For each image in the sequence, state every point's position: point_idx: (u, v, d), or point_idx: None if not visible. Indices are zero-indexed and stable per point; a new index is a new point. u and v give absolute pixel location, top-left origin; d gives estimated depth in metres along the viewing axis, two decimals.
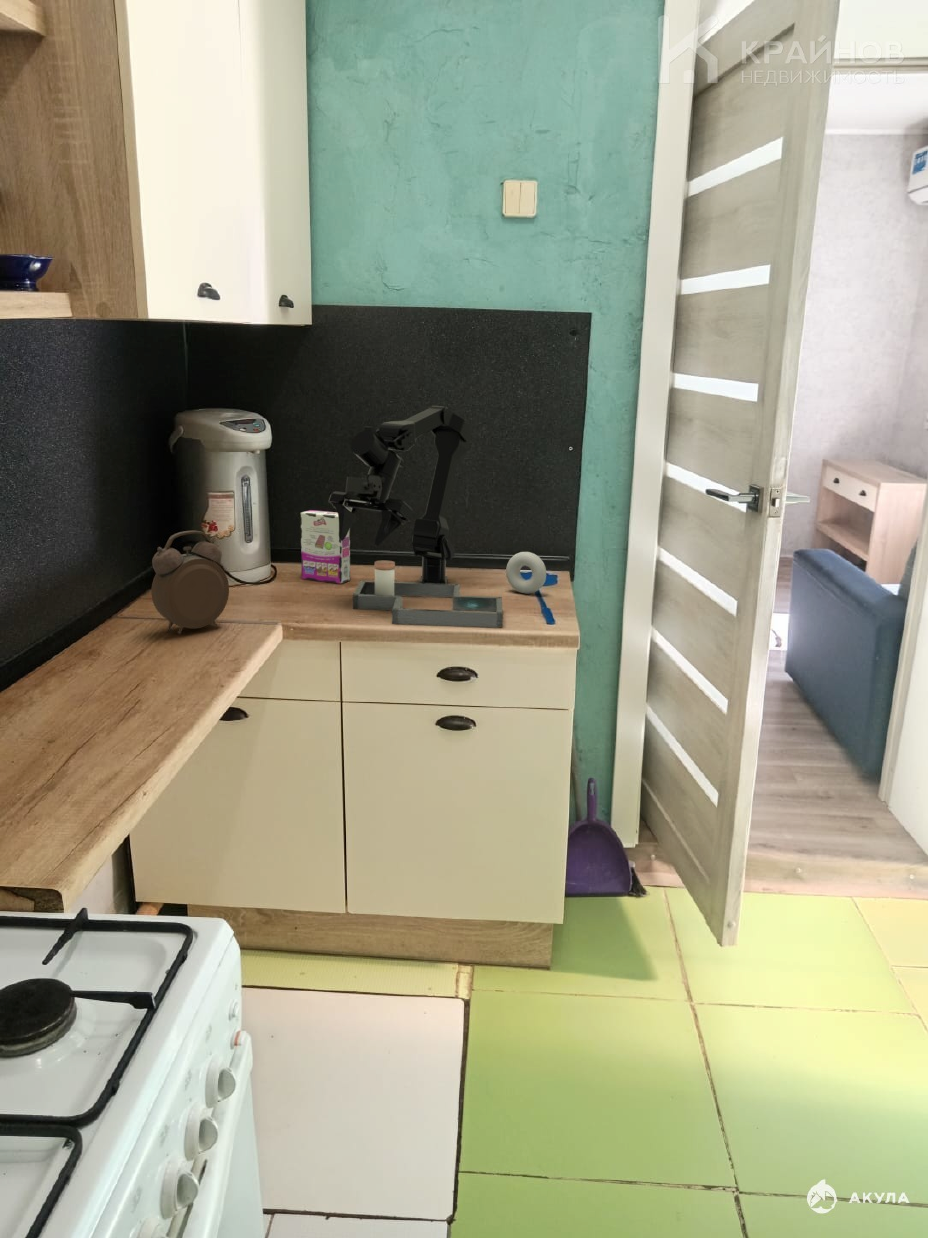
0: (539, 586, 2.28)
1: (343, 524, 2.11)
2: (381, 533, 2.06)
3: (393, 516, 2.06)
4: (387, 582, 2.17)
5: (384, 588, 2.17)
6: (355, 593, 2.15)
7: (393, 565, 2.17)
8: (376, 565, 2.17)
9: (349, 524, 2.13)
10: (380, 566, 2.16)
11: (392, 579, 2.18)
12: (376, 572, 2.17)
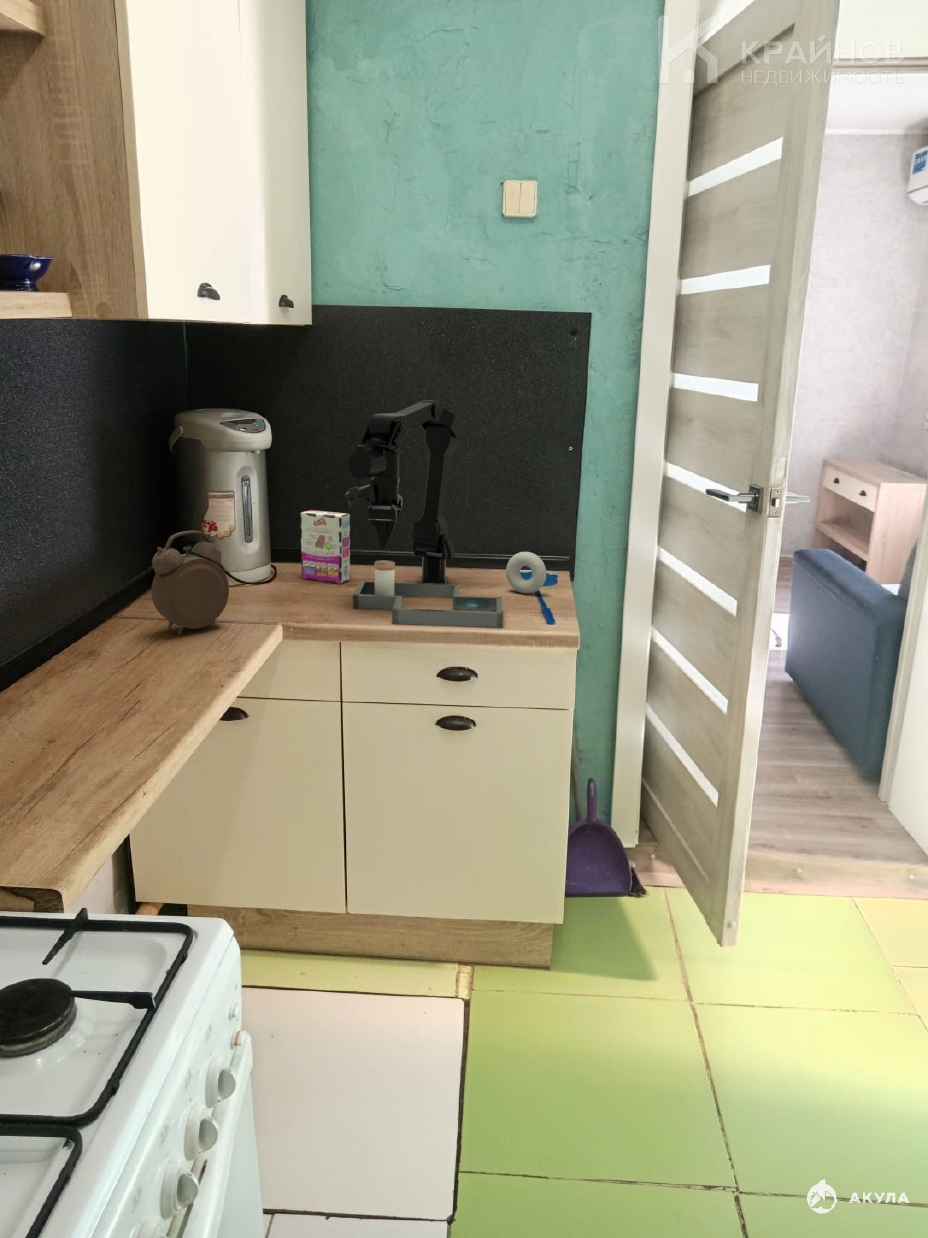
0: (539, 586, 2.28)
1: None
2: (378, 538, 2.11)
3: None
4: (387, 582, 2.17)
5: (384, 588, 2.17)
6: (355, 593, 2.15)
7: (393, 565, 2.17)
8: (376, 565, 2.17)
9: None
10: (380, 566, 2.16)
11: (392, 579, 2.18)
12: (376, 572, 2.17)
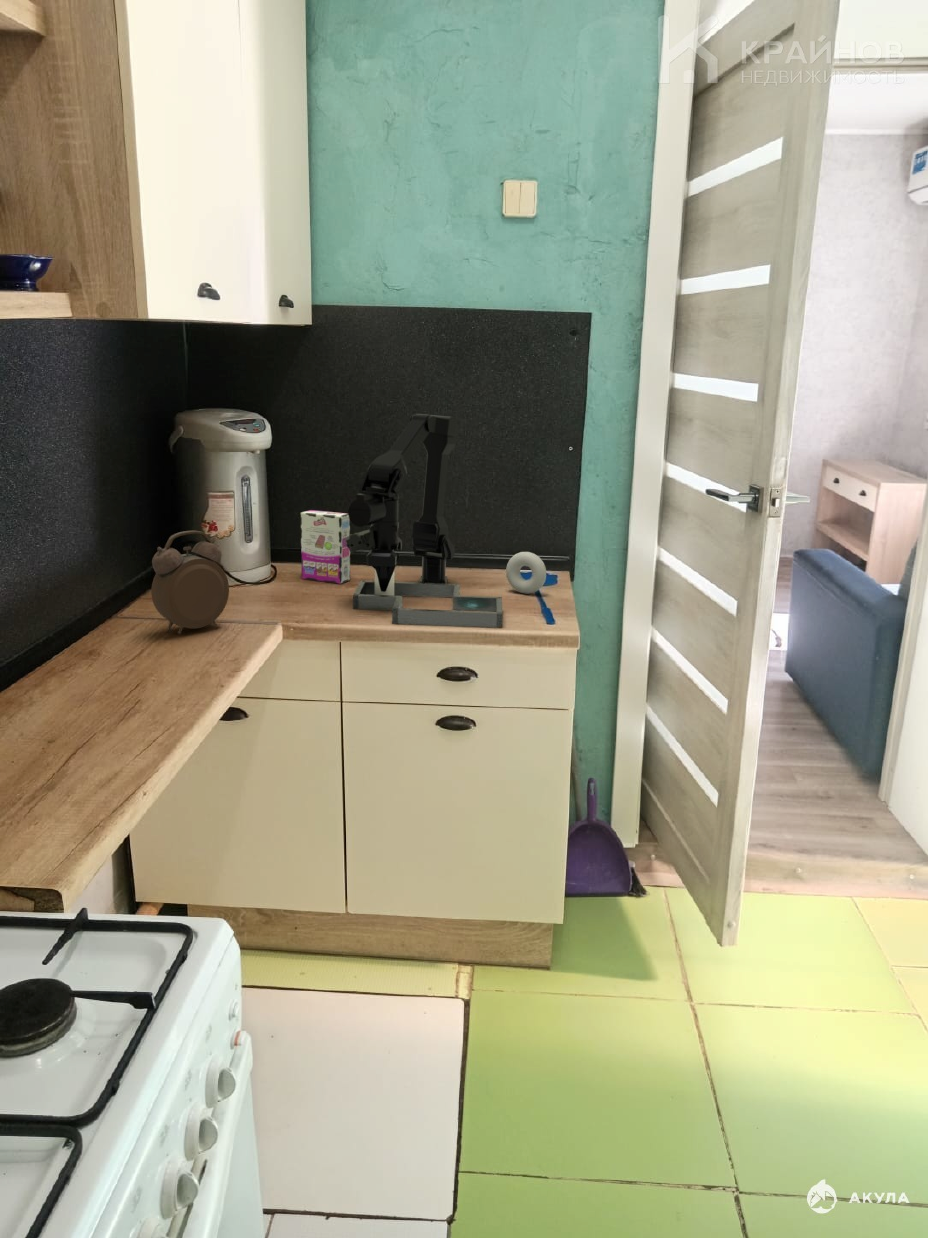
0: (539, 586, 2.28)
1: None
2: (379, 581, 2.16)
3: None
4: None
5: None
6: (355, 593, 2.15)
7: None
8: None
9: None
10: None
11: (392, 579, 2.18)
12: (376, 572, 2.17)
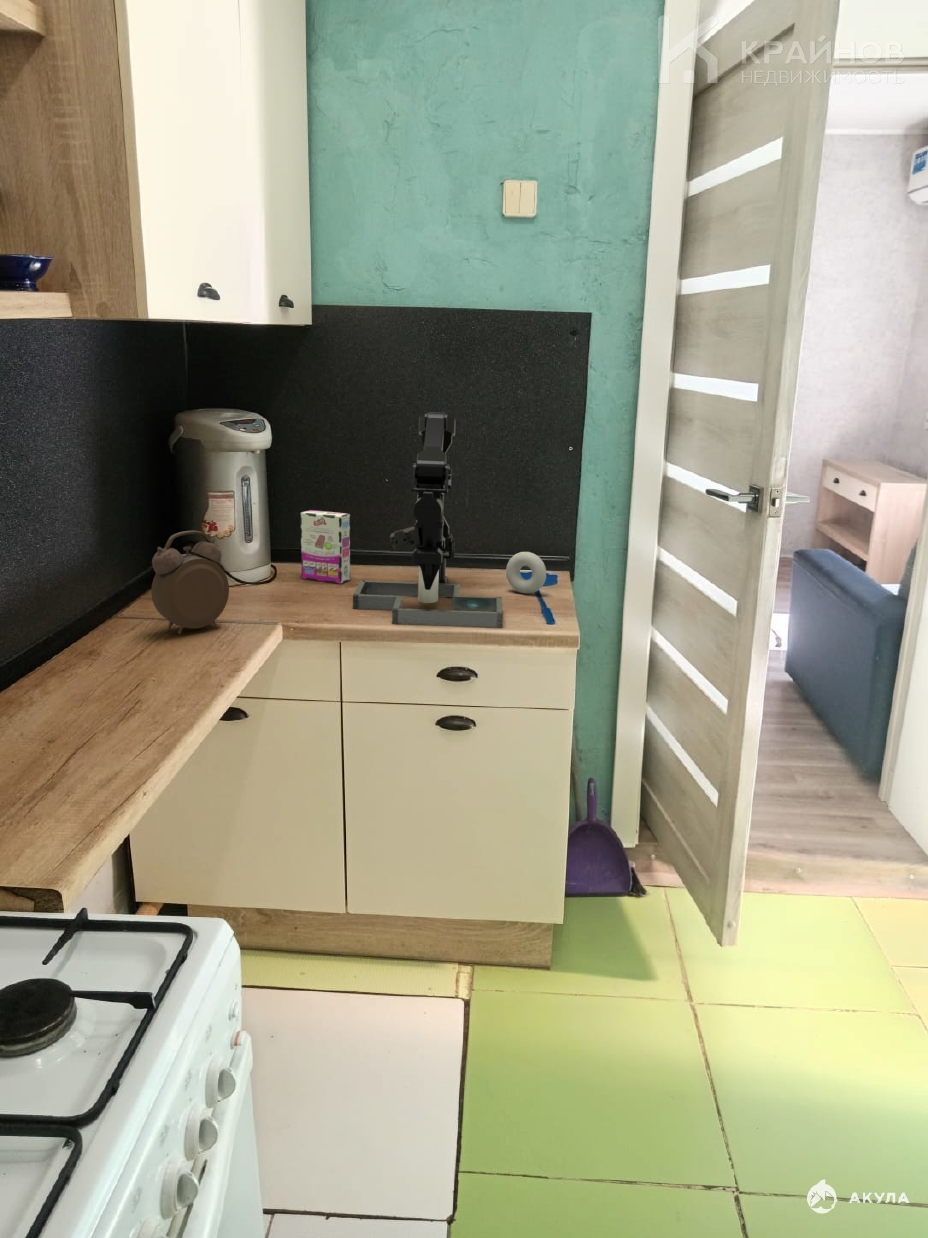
0: (539, 586, 2.28)
1: None
2: (424, 579, 2.12)
3: None
4: None
5: None
6: (355, 593, 2.15)
7: None
8: None
9: None
10: None
11: (436, 577, 2.14)
12: (420, 570, 2.13)
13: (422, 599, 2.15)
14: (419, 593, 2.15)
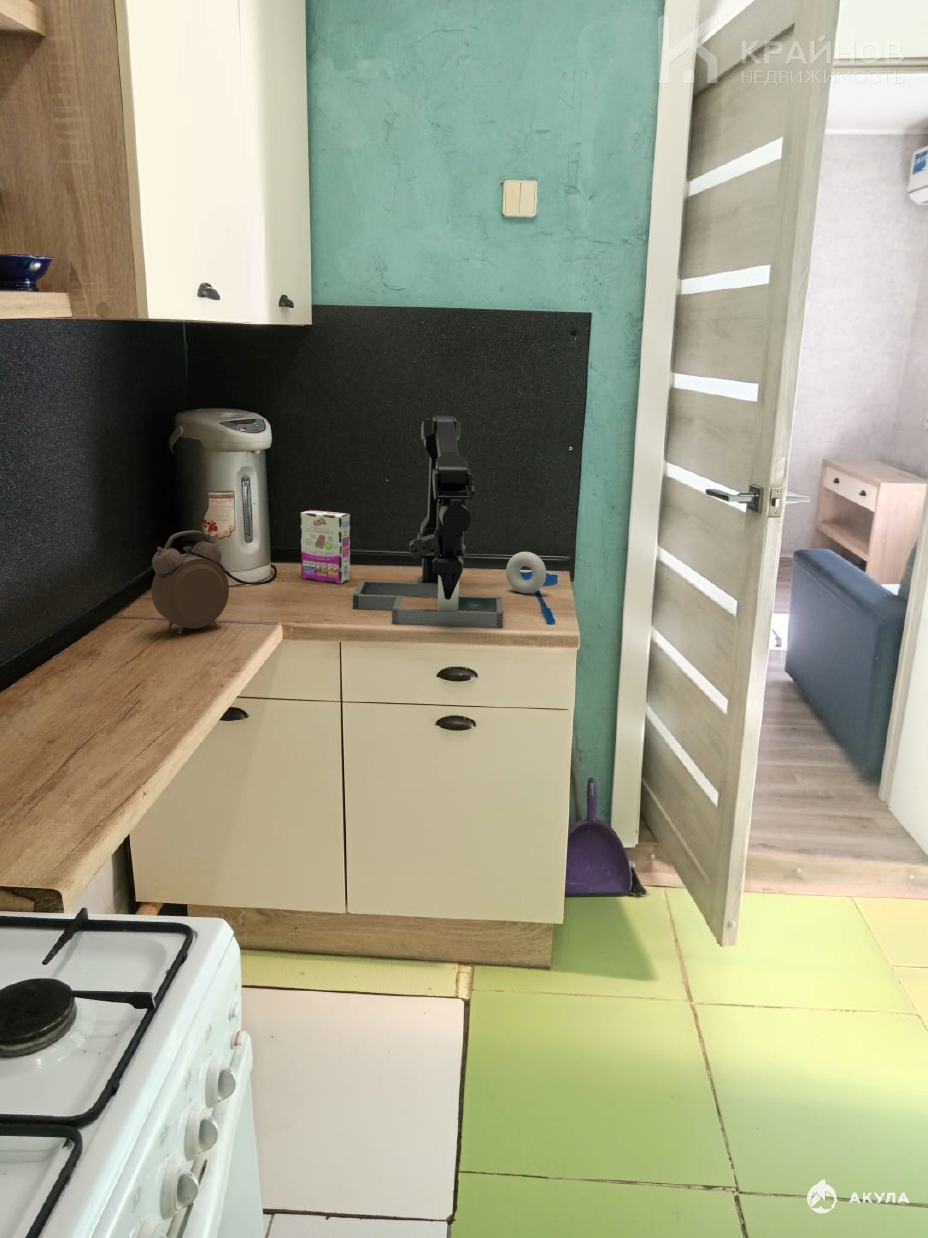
0: (539, 586, 2.28)
1: None
2: (444, 588, 2.06)
3: None
4: None
5: None
6: (355, 593, 2.15)
7: None
8: None
9: None
10: None
11: (457, 586, 2.08)
12: (440, 579, 2.07)
13: (441, 609, 2.08)
14: (439, 603, 2.09)
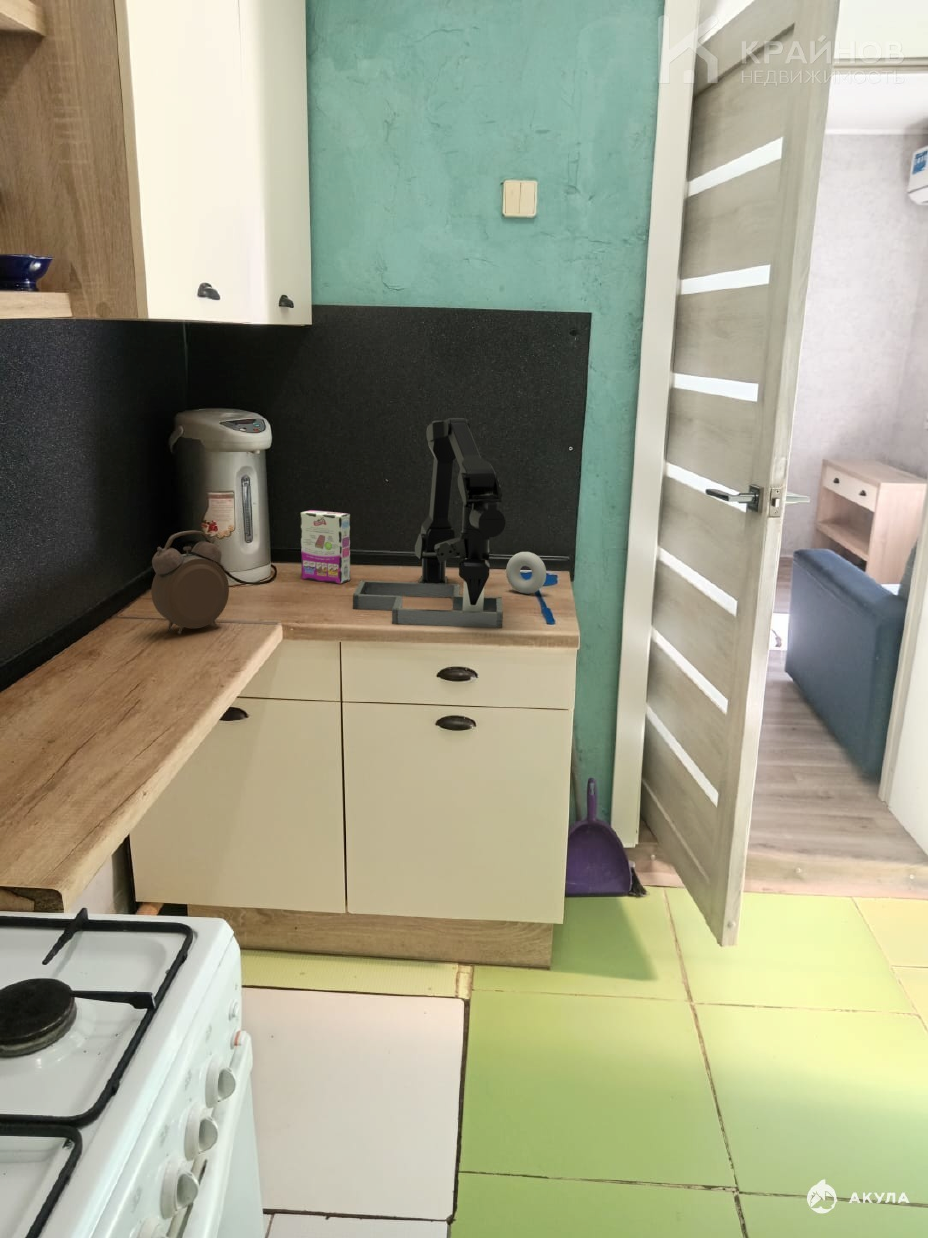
0: (539, 586, 2.28)
1: None
2: (469, 594, 2.04)
3: None
4: None
5: None
6: (355, 593, 2.15)
7: None
8: None
9: None
10: None
11: (482, 593, 2.08)
12: (465, 585, 2.07)
13: None
14: (464, 609, 2.09)
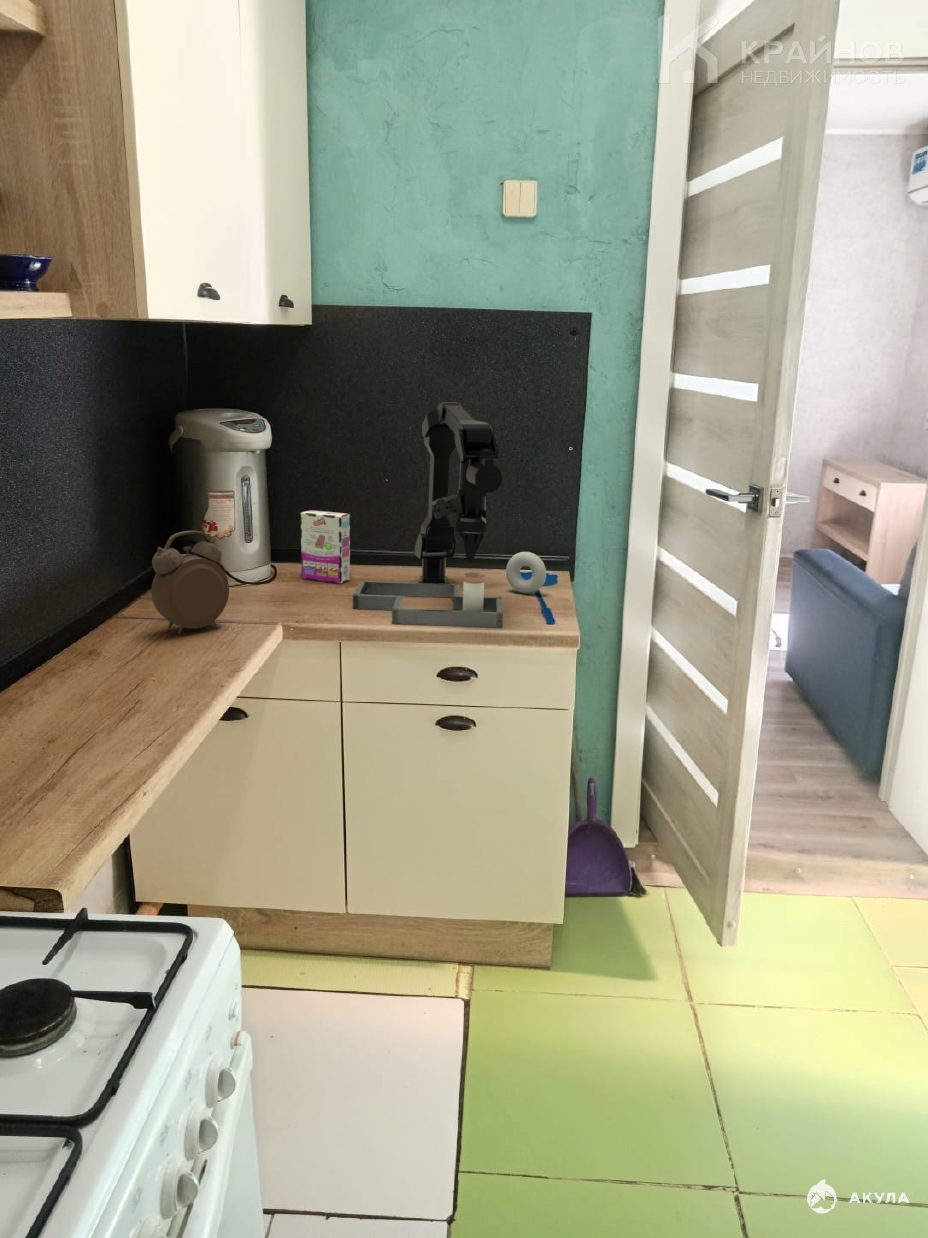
0: (539, 586, 2.28)
1: None
2: (466, 550, 2.04)
3: None
4: (477, 595, 2.07)
5: (474, 602, 2.07)
6: (355, 593, 2.15)
7: (483, 578, 2.07)
8: (466, 578, 2.07)
9: None
10: (470, 579, 2.06)
11: (482, 592, 2.08)
12: (465, 585, 2.07)
13: None
14: (464, 609, 2.09)
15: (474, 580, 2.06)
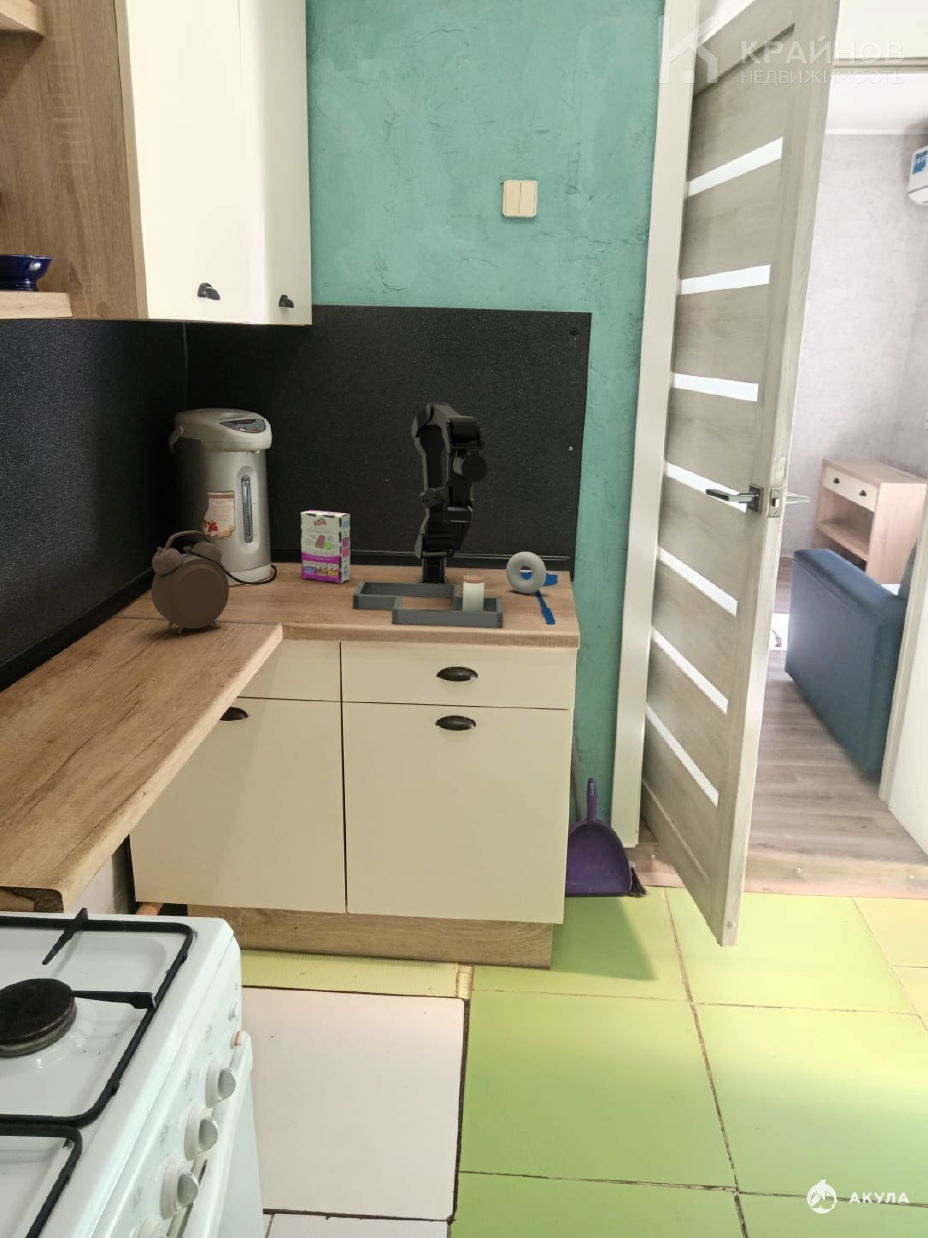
0: (539, 586, 2.28)
1: None
2: (453, 539, 2.12)
3: None
4: (477, 595, 2.07)
5: (474, 602, 2.07)
6: (355, 593, 2.15)
7: (483, 578, 2.07)
8: (466, 578, 2.07)
9: None
10: (470, 579, 2.06)
11: (482, 593, 2.08)
12: (465, 585, 2.07)
13: None
14: (464, 609, 2.09)
15: (474, 580, 2.06)
